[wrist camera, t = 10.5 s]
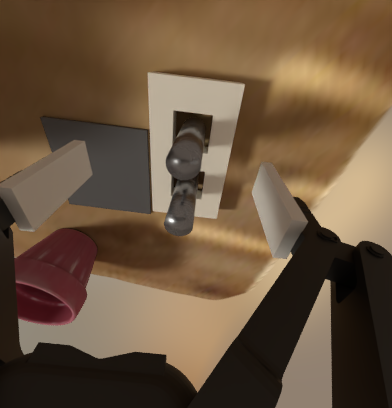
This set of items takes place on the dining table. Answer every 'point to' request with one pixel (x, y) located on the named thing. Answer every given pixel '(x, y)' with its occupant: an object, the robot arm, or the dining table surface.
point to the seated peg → (182, 207)
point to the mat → (107, 163)
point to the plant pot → (54, 277)
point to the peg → (187, 150)
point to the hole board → (166, 133)
